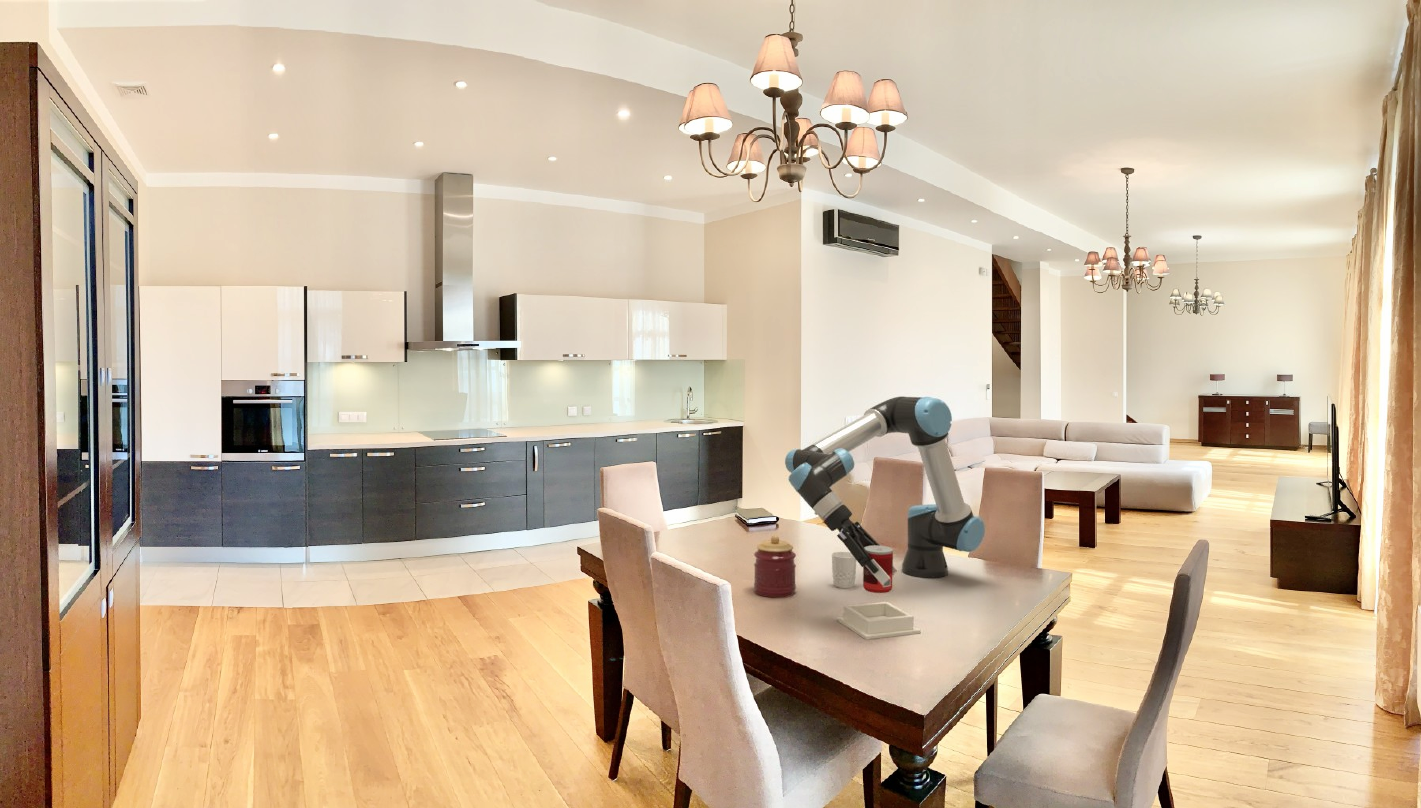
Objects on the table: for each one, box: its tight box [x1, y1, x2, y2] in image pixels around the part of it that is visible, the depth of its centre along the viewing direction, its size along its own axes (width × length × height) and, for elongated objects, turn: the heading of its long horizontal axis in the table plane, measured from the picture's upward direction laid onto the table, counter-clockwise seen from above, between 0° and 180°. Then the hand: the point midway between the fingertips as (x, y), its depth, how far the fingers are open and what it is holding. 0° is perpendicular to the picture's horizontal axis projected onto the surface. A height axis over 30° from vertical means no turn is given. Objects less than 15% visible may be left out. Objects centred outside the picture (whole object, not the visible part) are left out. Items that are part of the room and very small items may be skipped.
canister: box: [753, 535, 797, 598], centre depth 236 cm, size 13×13×18 cm
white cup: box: [831, 551, 858, 589], centre depth 244 cm, size 8×8×10 cm
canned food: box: [862, 545, 894, 594], centre depth 204 cm, size 8×8×11 cm
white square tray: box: [836, 601, 921, 640], centre depth 205 cm, size 16×16×4 cm
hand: (890, 577), depth 203 cm, fingers closed on canned food, 8 cm apart
